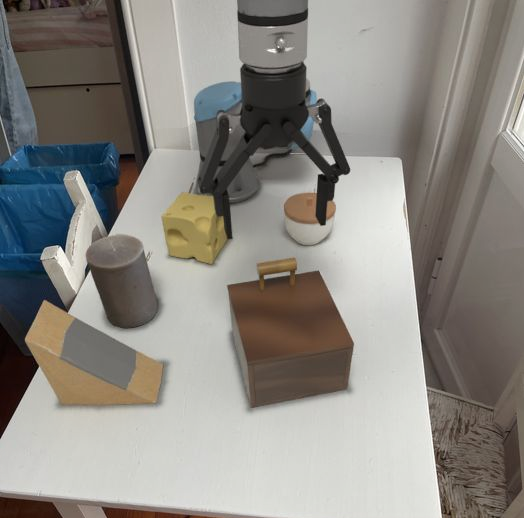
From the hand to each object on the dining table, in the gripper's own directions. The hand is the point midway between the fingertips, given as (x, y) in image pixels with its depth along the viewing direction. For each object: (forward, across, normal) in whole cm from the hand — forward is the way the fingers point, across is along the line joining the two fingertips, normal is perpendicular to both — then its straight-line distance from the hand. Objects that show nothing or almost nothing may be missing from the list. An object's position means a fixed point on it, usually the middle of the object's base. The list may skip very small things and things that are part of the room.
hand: (275, 227), depth 70 cm
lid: (+12, 0, -6) cm, 13 cm away
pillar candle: (+22, -25, +12) cm, 35 cm away
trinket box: (+22, +14, +27) cm, 38 cm away
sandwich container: (+22, -28, -5) cm, 36 cm away
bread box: (+22, 0, -6) cm, 23 cm away
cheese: (+22, -10, +30) cm, 38 cm away
